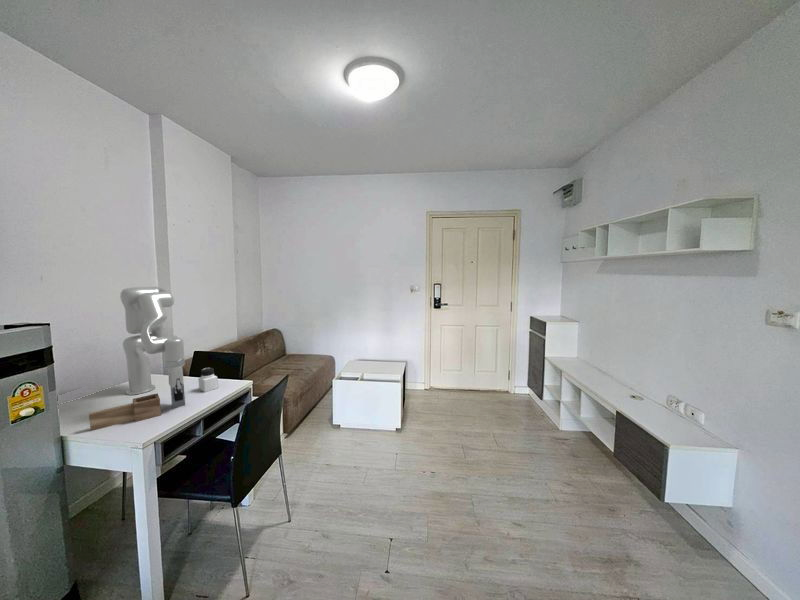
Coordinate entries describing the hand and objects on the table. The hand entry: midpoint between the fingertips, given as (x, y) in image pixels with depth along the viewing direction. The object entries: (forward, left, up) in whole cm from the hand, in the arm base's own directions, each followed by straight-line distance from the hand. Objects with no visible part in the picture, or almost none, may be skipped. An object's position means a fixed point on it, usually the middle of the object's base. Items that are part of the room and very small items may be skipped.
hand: (178, 398), depth 148 cm
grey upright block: (0, 0, -4) cm, 4 cm away
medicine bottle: (-15, +16, -4) cm, 22 cm away
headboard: (+2, -19, -4) cm, 19 cm away
